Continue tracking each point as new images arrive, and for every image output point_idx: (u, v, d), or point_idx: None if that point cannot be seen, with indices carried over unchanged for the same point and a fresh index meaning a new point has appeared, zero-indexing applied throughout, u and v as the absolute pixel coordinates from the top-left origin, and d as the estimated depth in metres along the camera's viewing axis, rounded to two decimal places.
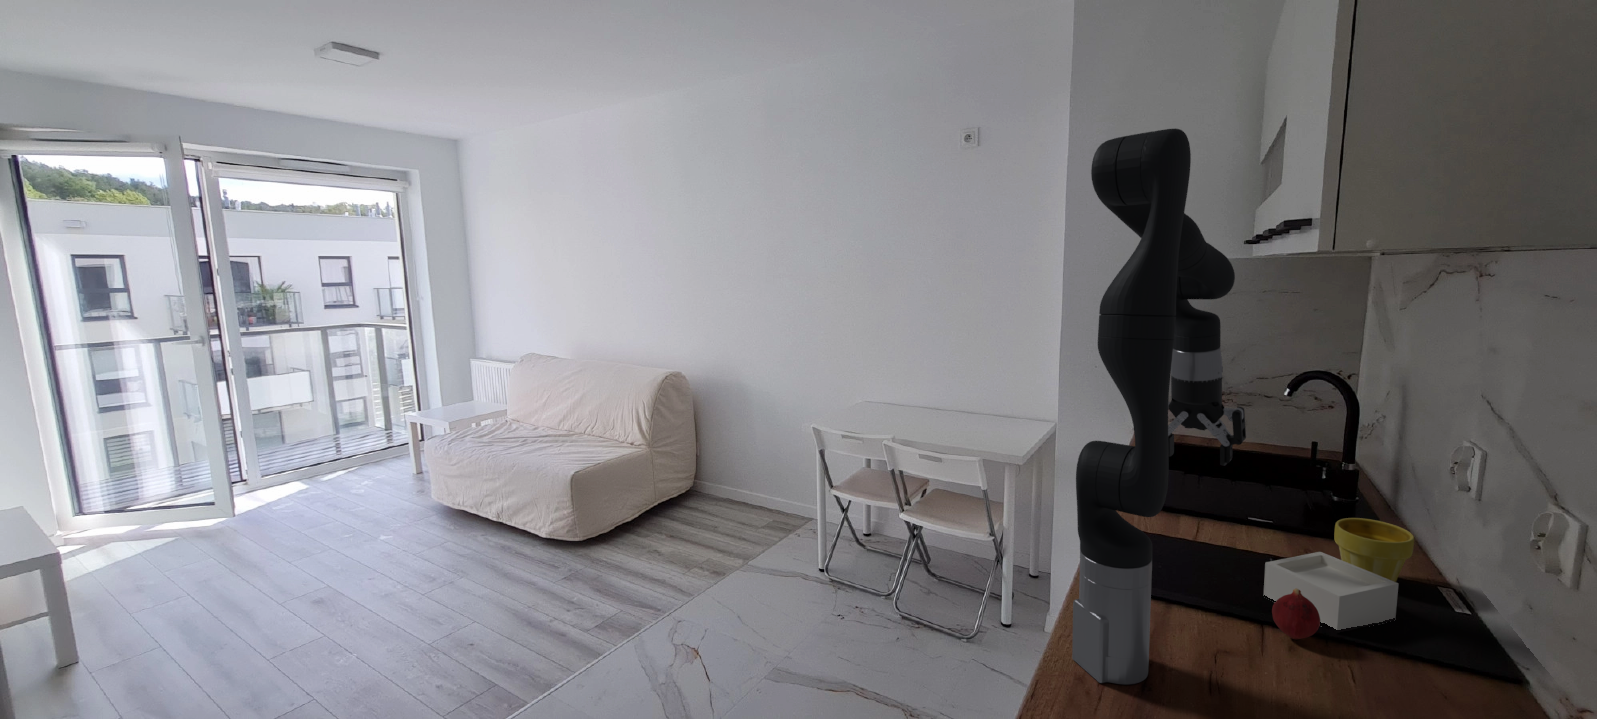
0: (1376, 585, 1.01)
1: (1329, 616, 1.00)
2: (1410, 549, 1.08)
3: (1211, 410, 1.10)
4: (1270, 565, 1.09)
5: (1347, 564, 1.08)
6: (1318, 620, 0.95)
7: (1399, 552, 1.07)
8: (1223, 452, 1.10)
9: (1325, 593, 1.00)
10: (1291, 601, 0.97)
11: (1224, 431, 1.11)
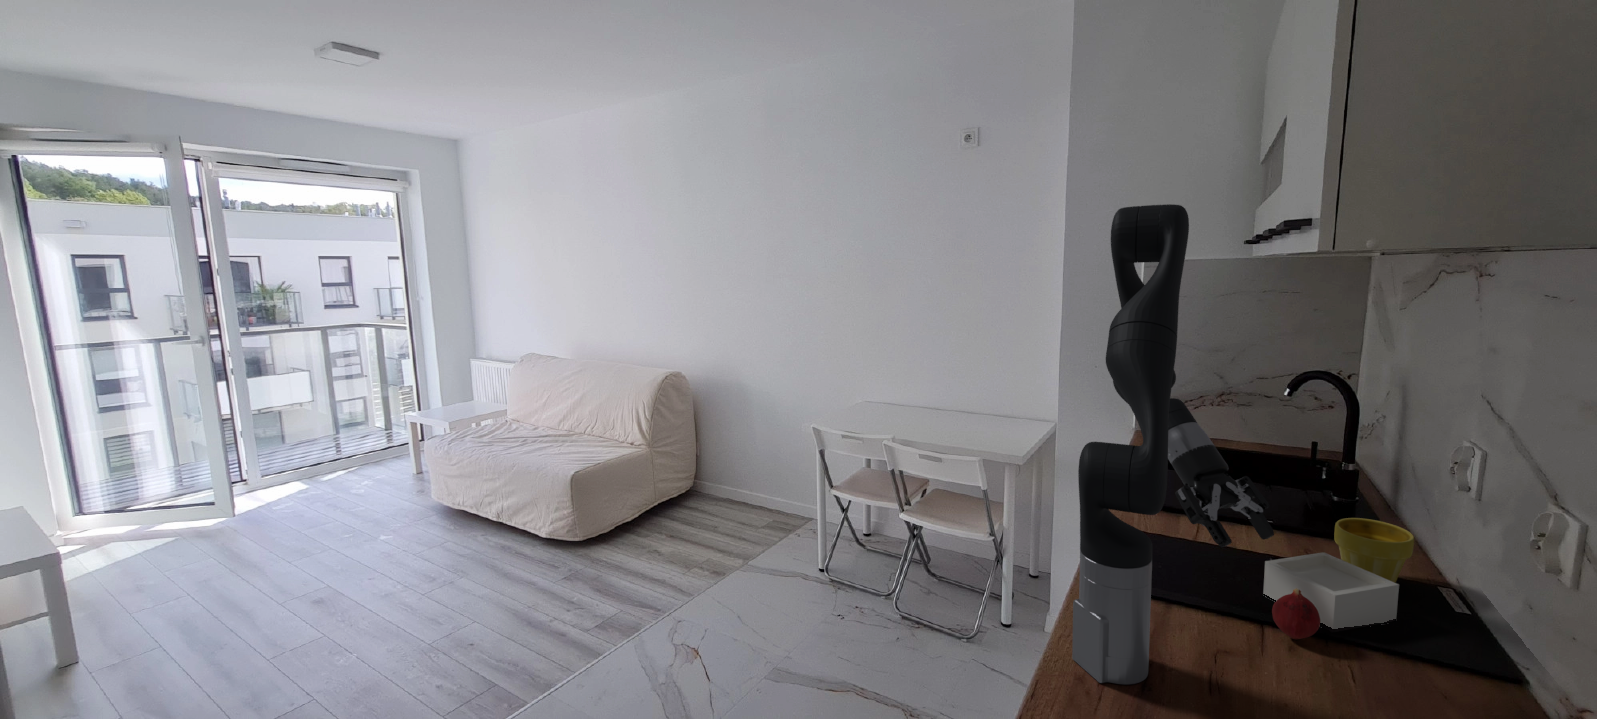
0: (1375, 586, 1.01)
1: (1325, 615, 1.00)
2: (1410, 549, 1.08)
3: (1229, 480, 1.10)
4: (1269, 564, 1.09)
5: (1349, 565, 1.07)
6: (1318, 620, 0.95)
7: (1399, 552, 1.07)
8: (1264, 519, 1.06)
9: (1321, 592, 1.01)
10: (1291, 601, 0.97)
11: (1243, 507, 1.09)
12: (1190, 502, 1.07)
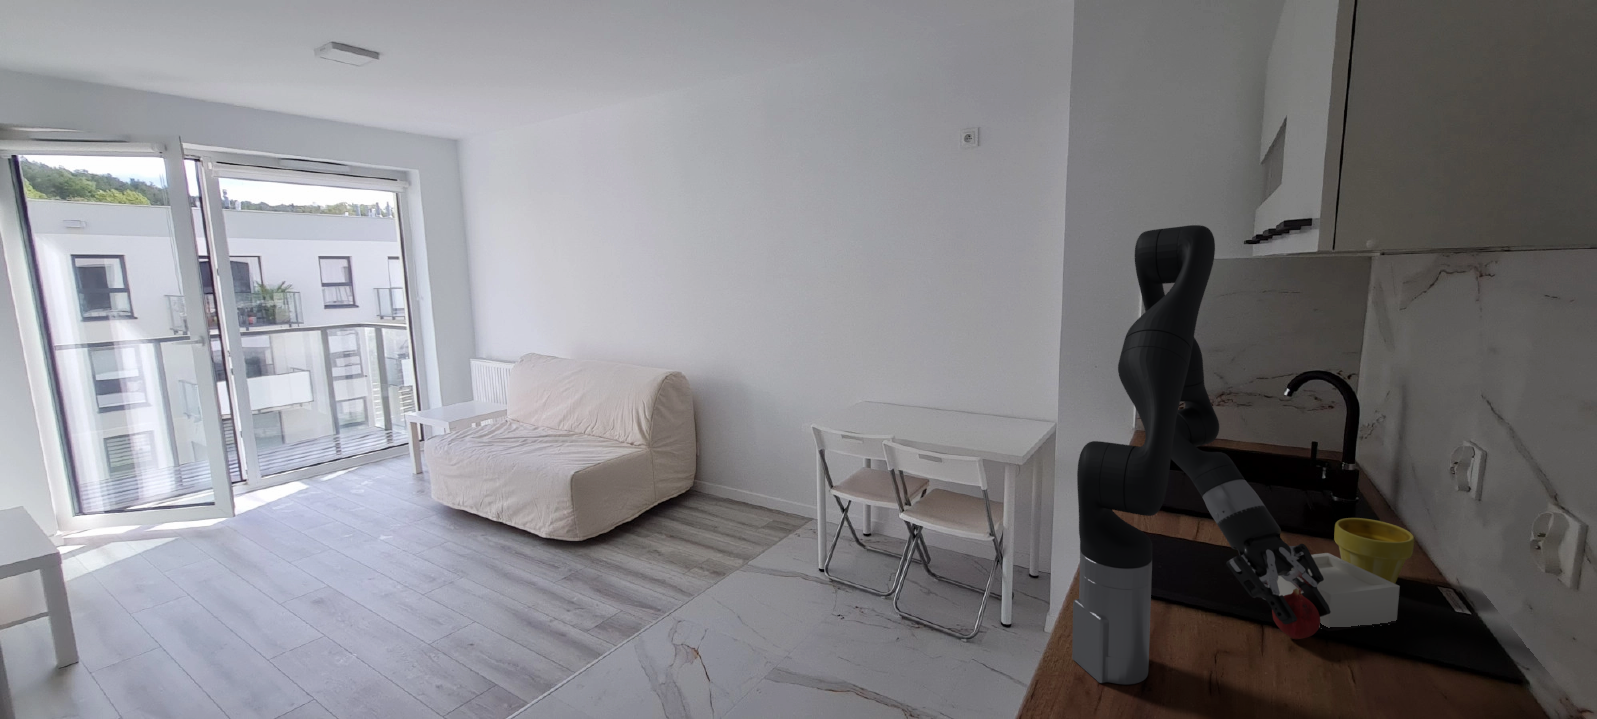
0: (1374, 586, 1.00)
1: None
2: (1410, 549, 1.08)
3: (1281, 544, 1.02)
4: None
5: (1351, 566, 1.07)
6: (1318, 620, 0.95)
7: (1399, 552, 1.07)
8: (1319, 595, 0.97)
9: None
10: (1291, 601, 0.97)
11: (1296, 578, 1.01)
12: (1247, 575, 0.98)
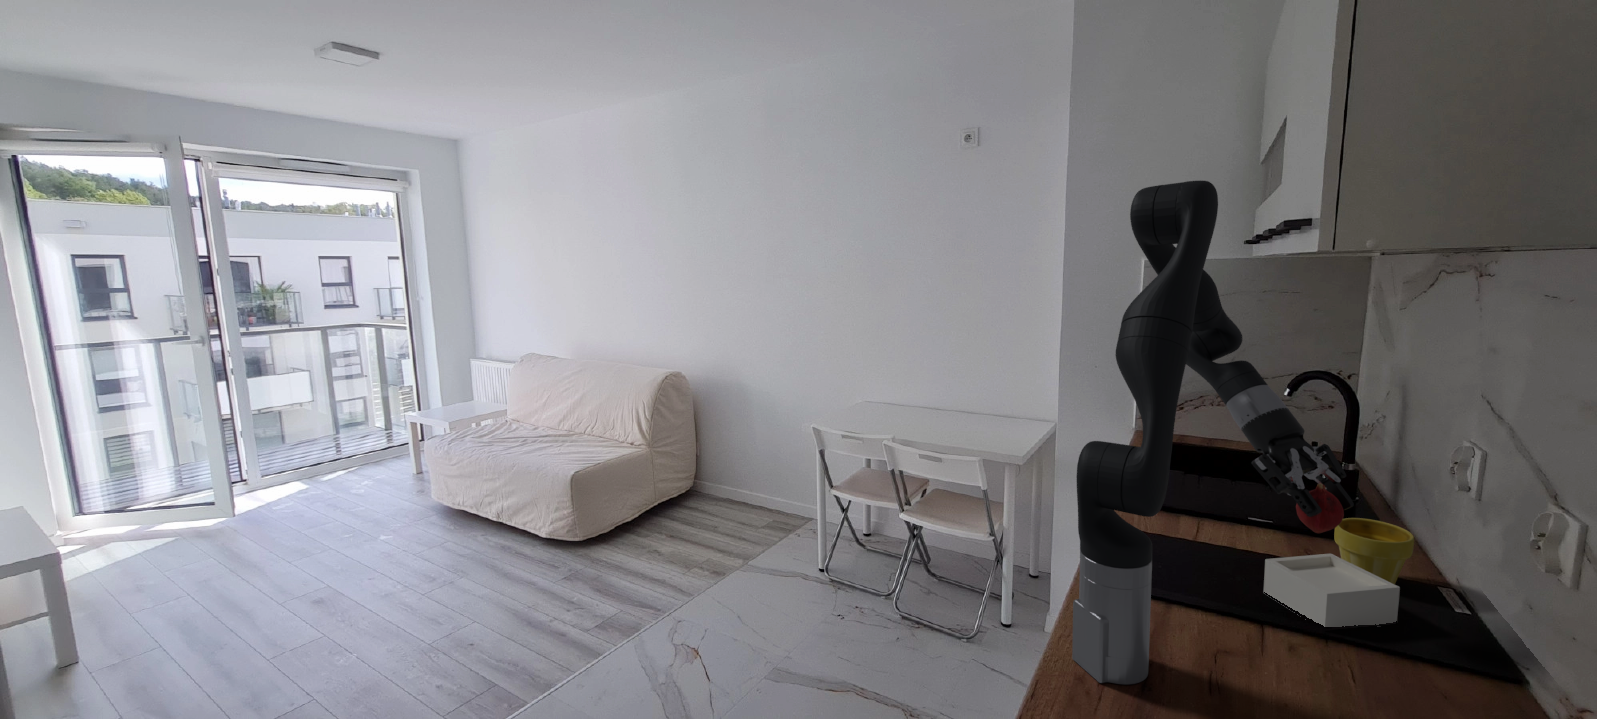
0: (1373, 587, 1.00)
1: (1318, 613, 1.01)
2: (1410, 549, 1.08)
3: (1305, 444, 1.05)
4: (1269, 562, 1.10)
5: (1353, 566, 1.07)
6: (1342, 512, 0.98)
7: (1399, 552, 1.07)
8: (1342, 489, 1.00)
9: (1315, 590, 1.01)
10: (1315, 495, 1.00)
11: (1319, 476, 1.04)
12: (1273, 472, 1.01)
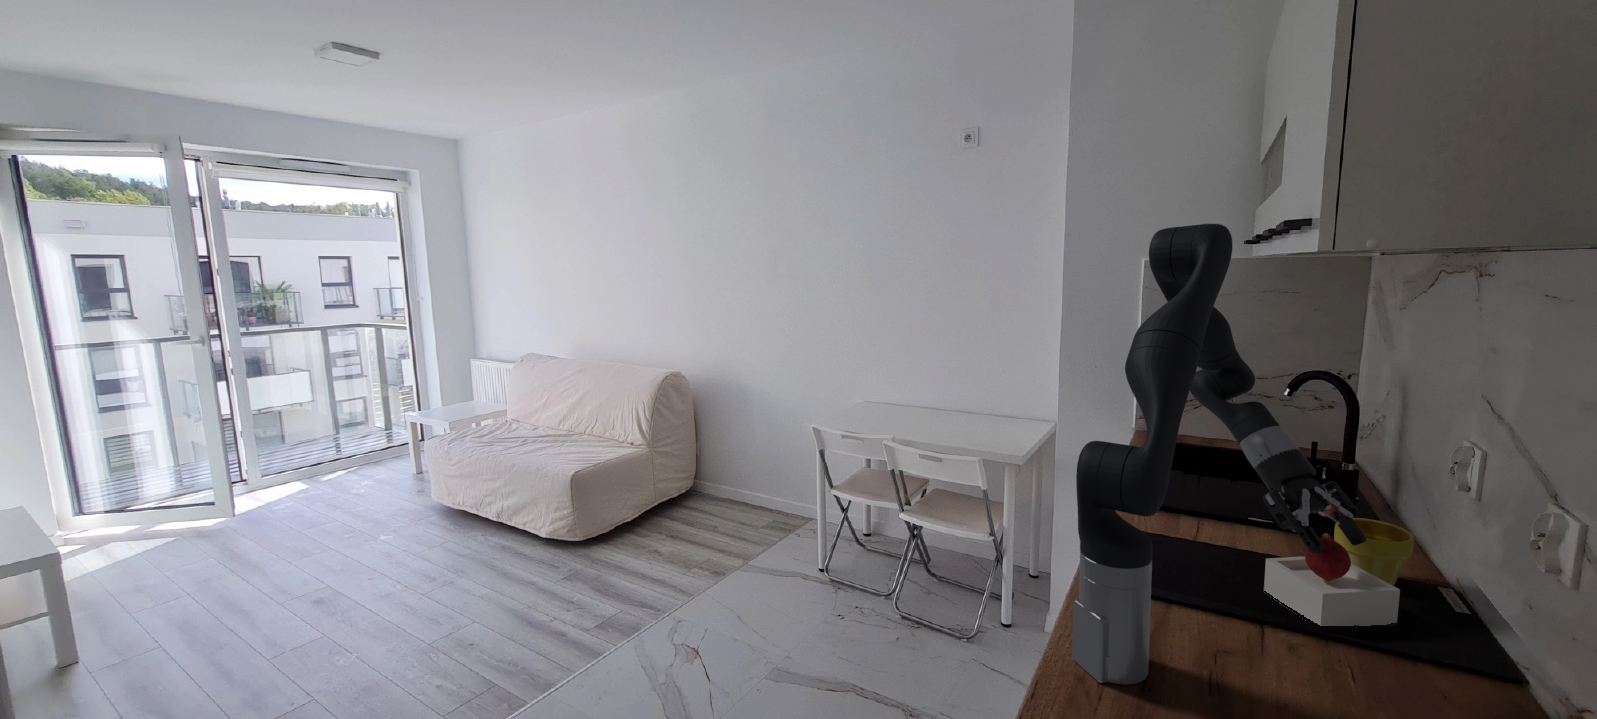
0: (1372, 588, 1.00)
1: (1314, 613, 1.01)
2: (1410, 549, 1.08)
3: (1316, 485, 1.09)
4: (1269, 561, 1.10)
5: (1356, 568, 1.06)
6: (1348, 560, 1.03)
7: (1399, 552, 1.07)
8: (1355, 525, 1.05)
9: (1311, 590, 1.01)
10: None
11: (1331, 512, 1.08)
12: (1280, 507, 1.05)
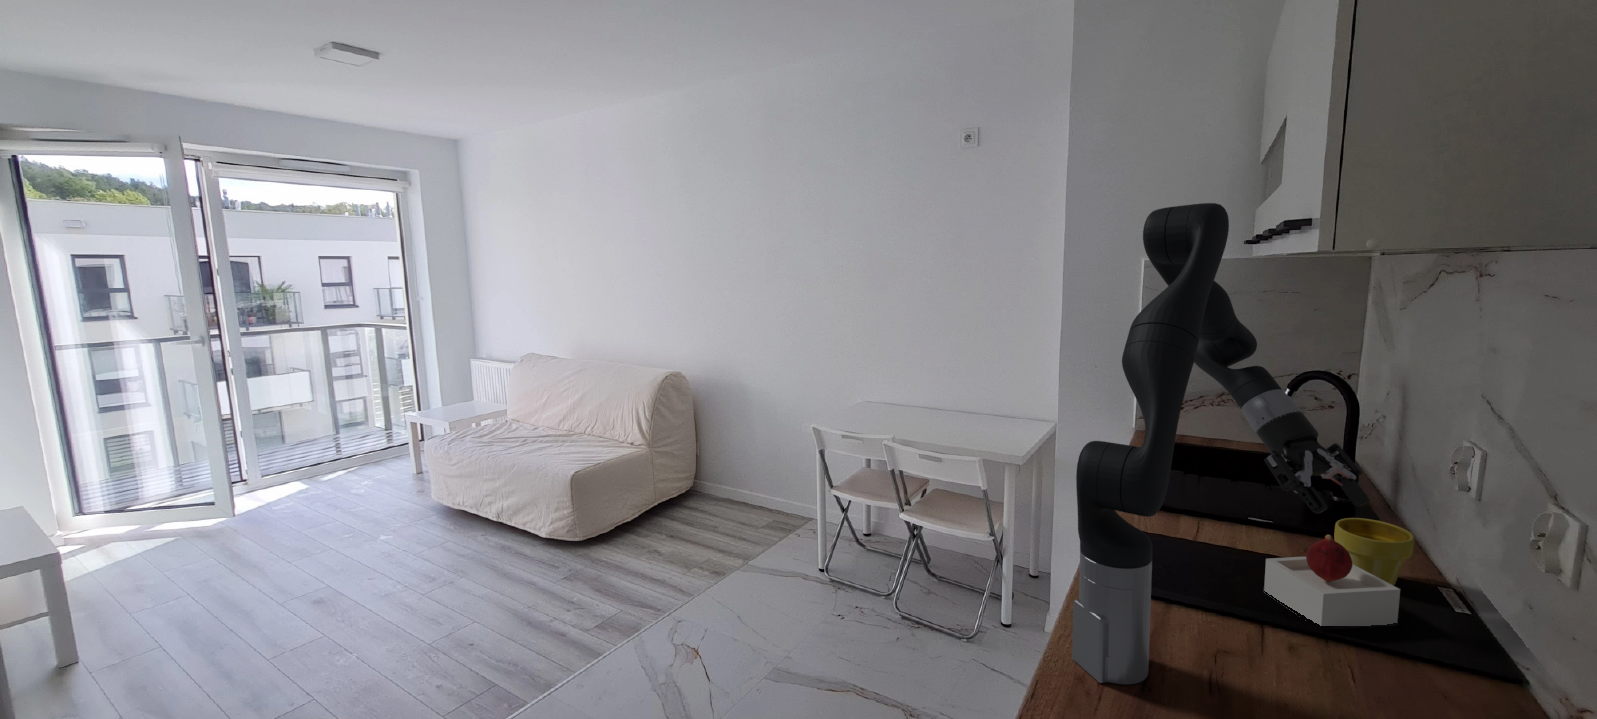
0: (1373, 588, 1.00)
1: (1315, 613, 1.01)
2: (1410, 549, 1.08)
3: (1318, 448, 1.08)
4: (1269, 561, 1.10)
5: (1356, 568, 1.06)
6: (1350, 562, 1.02)
7: (1399, 552, 1.07)
8: (1358, 486, 1.04)
9: (1312, 590, 1.01)
10: (1324, 546, 1.04)
11: (1334, 474, 1.07)
12: (1282, 468, 1.04)
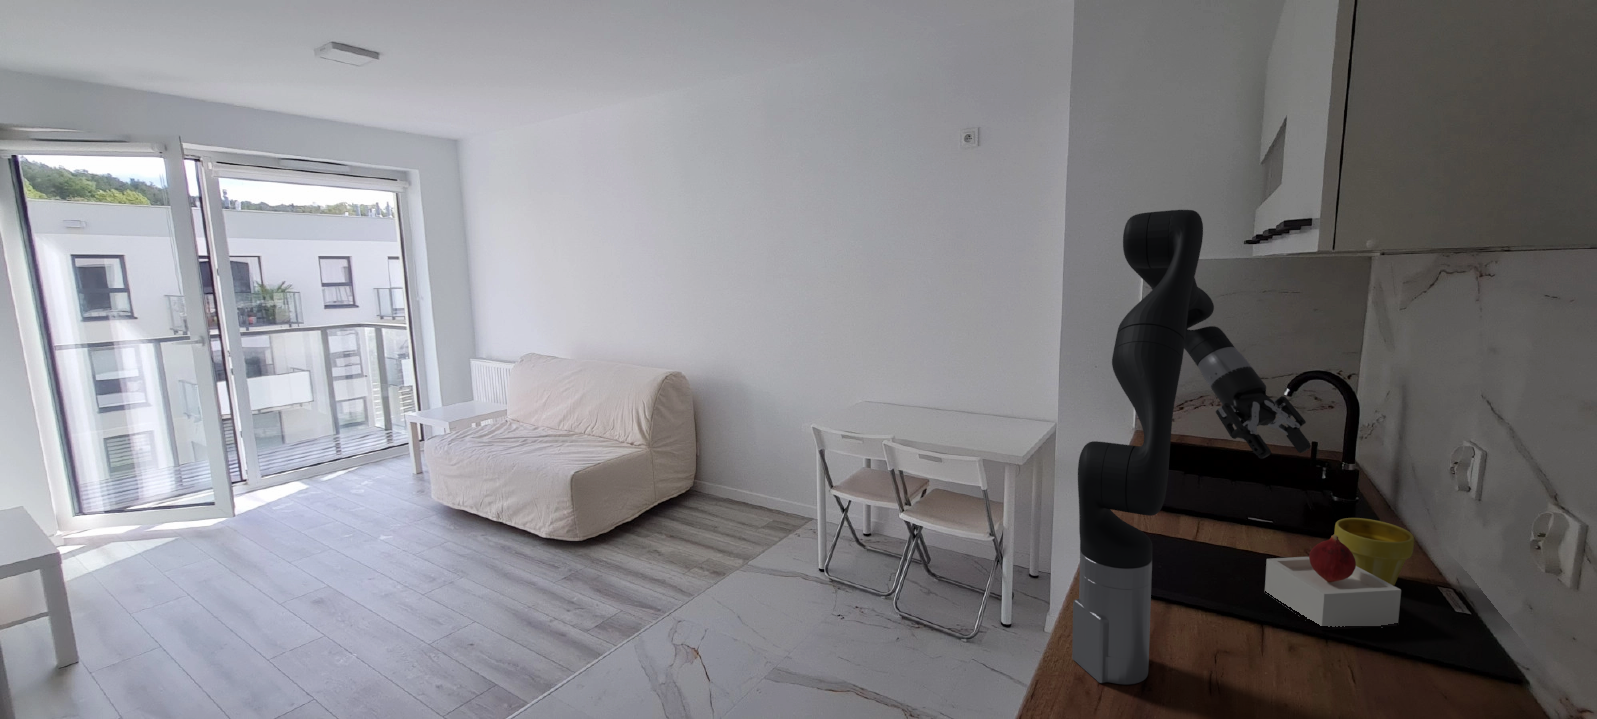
0: (1374, 589, 1.00)
1: (1316, 614, 1.01)
2: (1410, 549, 1.08)
3: (1266, 400, 1.16)
4: (1270, 561, 1.10)
5: (1357, 568, 1.06)
6: (1354, 563, 1.02)
7: (1399, 552, 1.07)
8: (1301, 434, 1.13)
9: (1313, 590, 1.01)
10: (1330, 546, 1.04)
11: (1281, 424, 1.16)
12: (1231, 418, 1.13)
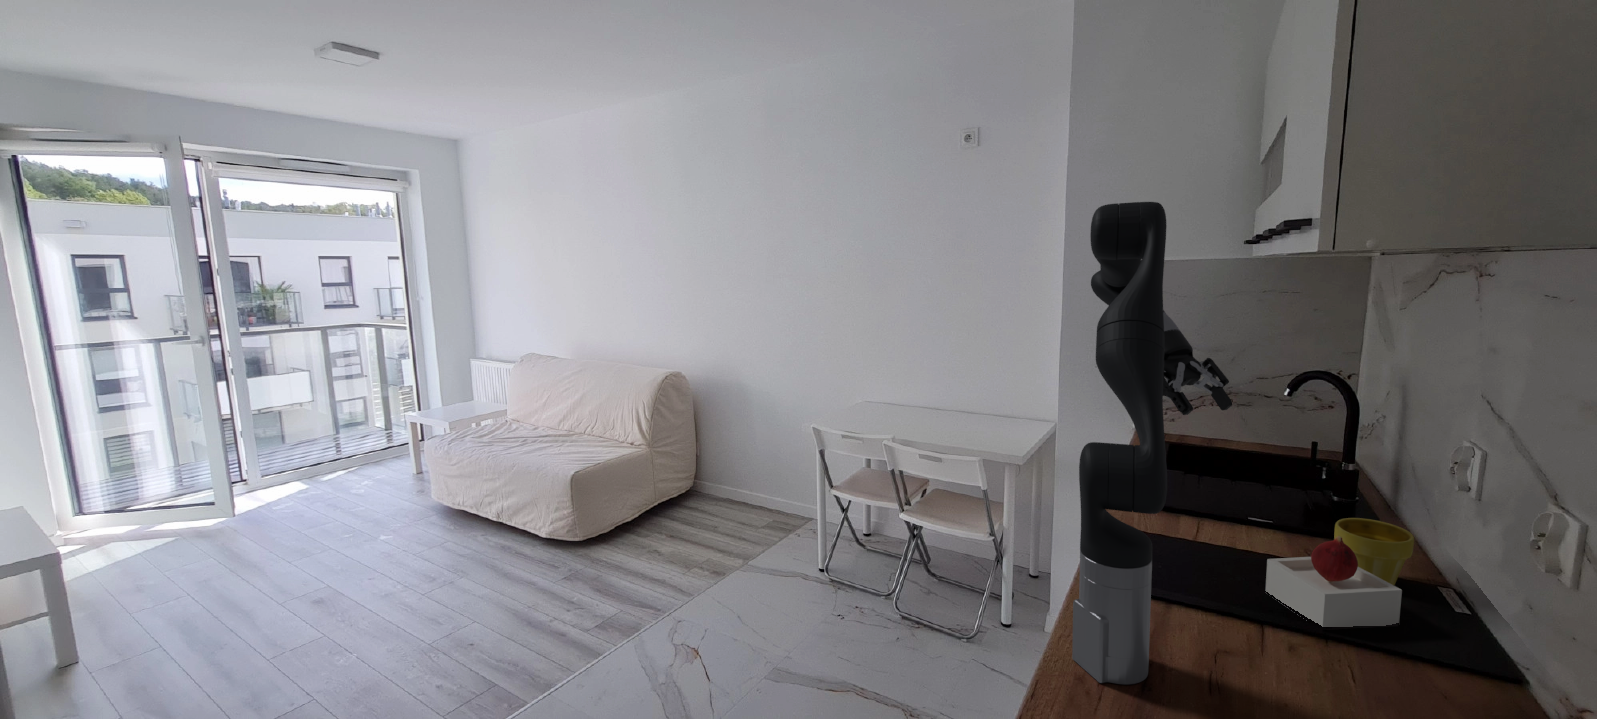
0: (1374, 589, 1.00)
1: (1316, 614, 1.01)
2: (1410, 549, 1.08)
3: (1193, 361, 1.21)
4: (1271, 562, 1.10)
5: (1357, 568, 1.06)
6: (1357, 565, 1.02)
7: (1399, 552, 1.07)
8: (1224, 392, 1.18)
9: (1313, 590, 1.01)
10: (1334, 547, 1.03)
11: (1206, 384, 1.21)
12: None
